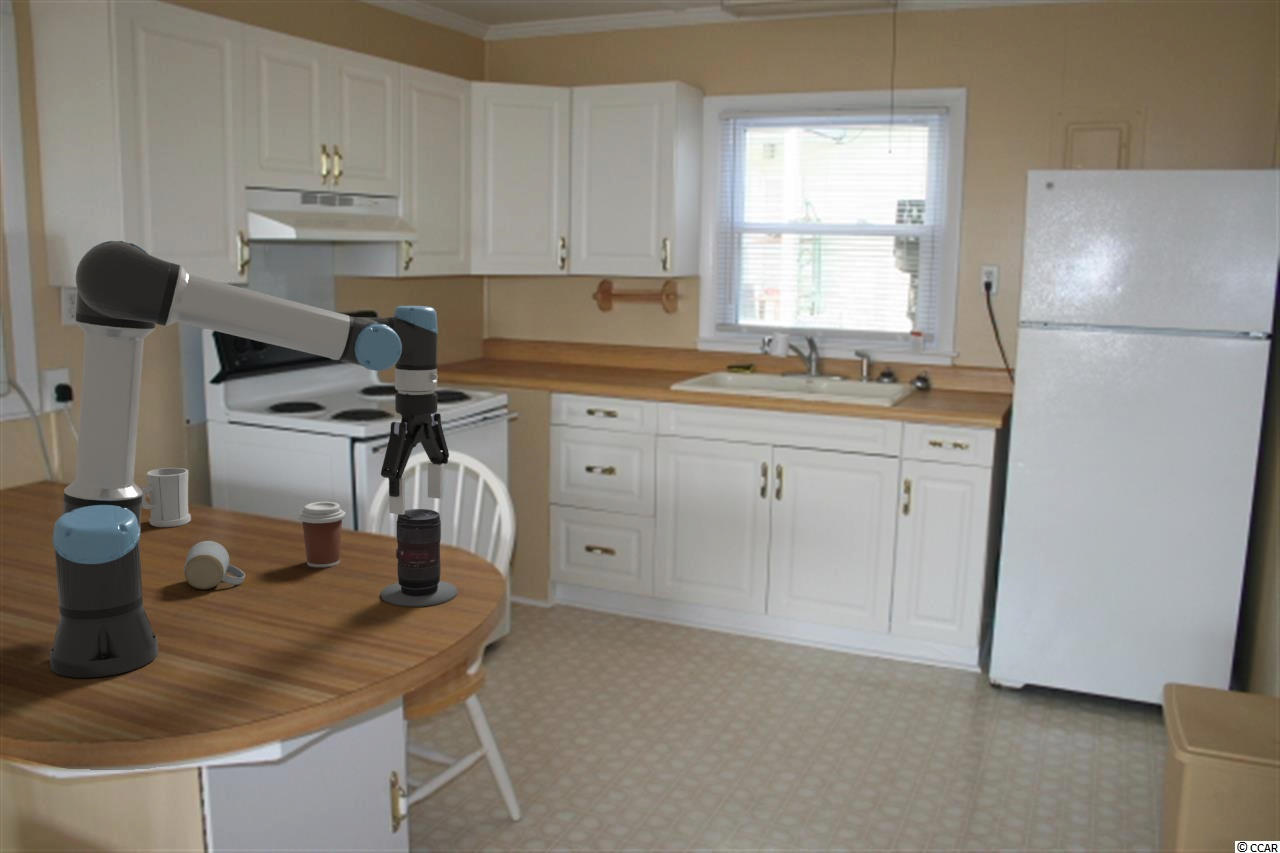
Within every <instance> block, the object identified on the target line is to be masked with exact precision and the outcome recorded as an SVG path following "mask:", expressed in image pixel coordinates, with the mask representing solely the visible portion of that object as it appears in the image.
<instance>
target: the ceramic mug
mask: <svg viewBox="0 0 1280 853" xmlns="http://www.w3.org/2000/svg"><path fill="white" fill-rule="evenodd" d="M183 573H184V577H185V580H186V582H187V583H188V584H189V585H190V586H191V587H193V588H194V589H198V590H209V589H213V588H215V587H217V586H218V585H219V584H220V583H221V582H223V583H226V584H228V585H229V584H230V585H234V586H236V585H237V586H238V585H242V583H244V581H245V578H246V574H245V572H244V571H243V570H241V569H240V568H239V567H236V565H235V566H234V565H233V564H230V556H229V552H228V551H227V549H226V548H225V546H223V545H222V544H220V543H218V542H216V541H212V540H204V541H203V540H202V541H200V542H197V543H195V544H194V545H193V546H192V547H191V548H190V549H189V551H188V553H187V555H186V559H185V563H184V566H183ZM226 573H229V574H226ZM230 574H231V575H230Z"/></svg>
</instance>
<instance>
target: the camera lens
mask: <svg viewBox="0 0 1280 853" xmlns="http://www.w3.org/2000/svg"><path fill="white" fill-rule="evenodd" d="M440 516H441V515H440V513H439V512H438V511H435V510H432V509H427V508H426V509H425V508H413V509H405V514H403V515H401V514H397V520H396V543H397V548H396V553H395V555H396V556H395V558H396V559H397V578H398V583H399V585H400V586H401V591H402V593H403V594H405V595H408V596H426V595H430V594H433V593H435V592H436V591H437V590H438V583H439V582H440V581H441V567H442V566H441V565H442V564H441V539H442V523H441V521H442V520H441V517H440Z"/></svg>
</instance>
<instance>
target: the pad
mask: <svg viewBox="0 0 1280 853" xmlns="http://www.w3.org/2000/svg"><path fill="white" fill-rule="evenodd" d="M457 595H458V588H457V587H456V585H454V584H452V583H450V582H448V581H443V580H440V582H439V583H438V590H437V591H436V592H435V593H433V594H430V595H426V596H408V595H405V594H403V593H402V591H401V586H400V585H399V582H395V583H392V584H389V585H387V586H386V587H384V588H383V589H382V590H381V592H380V598H381V600H382V601H383V602H385V603H388V604H389V605H393V606H398V607H407V608H408V607H409V608H410V607H411V608H412V607H413V608H416V607H417V608H419V607H430V606H431V607H432V606H436V605H440V604H444V603H447V602H450V601H451V600H453V599H455V598H456V597H457Z"/></svg>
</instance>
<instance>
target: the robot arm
mask: <svg viewBox="0 0 1280 853" xmlns="http://www.w3.org/2000/svg"><path fill="white" fill-rule="evenodd" d="M75 286H76V289H77V291H76V292H77V293H76V303H75V304H76V306H75V324H76V325H77V326H78V327H79V328H80V329H81V330H82V332H83V334H84V347H83V360H82V361H83V362H82V374H81V376H82V378H81V392H80V404H79V405H80V406H79V407H80V408H79V422H78V423H79V424H78V434H77V437H78V438H77V449H76V450H77V452H76V464H75V465H76V466H75V468H76V469H75V479H74V480H73V481H72V482H70V484H69V485H67V486H66V487H64V489H63V502H62V503H63V504H62V505H63V506H62V515H61V516H59V518H57V520H55V523H54V527H53V535H52V544H53V547H54V554H55V566H56V568H55V569H56V579H57V580H56V581H57V591H58V592H57V593H58V594H57V595H58V596H57V597H58V608H59V610H58V611H59V619H58V620H59V621H58V623H57V627H56V632H55V637H54V642H53V645H52V646H51V648H50V652H49V660H50V661H49V663H50V669H51V671H52V672H53V673H55V674H56V675H60V676H63V677H66V678H67V677H68V678H76V679H81V678H82V679H83V678H84V679H86V678H87V679H88V678H89V679H90V678H100V677H109V676H110V677H111V676H114V675H118V674H124V673H126V672H127V673H128V672H130V671H133V670H136V669H139V668H142V667H144V666H146V665H148V664H149V663H151V662H152V661H154V660H155V659H156V658H157V657H158V655H159V646H158V637H157V636H156V633H155V632H153V629H152V625H151V622H150V620H149V618H148V615H147V613H146V611H145V608H144V601H143V600H144V599H143V585H142V584H143V582H142V580H143V579H142V567H141V565H142V564H141V546H140V545H141V542H140V541H141V540H140V537H141V531H142V530H141V528H142V527H141V521H142V508H143V507H142V494H143V492H142V490H141V489H140V488H141V487H139V486H138V485H137V483H135V482H134V480H135V477H134V476H135V466H136V465H135V464H136V454H137V452H136V450H137V439H138V437H137V436H138V427H139V426H138V424H139V412H140V410H139V409H140V399H141V397H140V396H141V385H142V374H143V373H142V370H143V359H144V358H143V357H144V345H145V344H144V343H145V339H146V337H148V336H149V335H150V334H152V333H153V332H155V330H156V325H160V326H165V327H168V326H171V325H173V324H175V323H180V324H185V325H188V326H193V327H197V328H201V329H205V330H206V329H207V330H211V331H215V332H219V333H223V334H226V335H227V334H228V335H231V336H235V337H236V336H237V337H239V338H243V339H248V340H253V341H257V342H260V343H265V344H268V345H269V344H270V345H273V346H278V347H282V348H287V349H290V350H295V351H299V352H304V353H308V354H310V355H311V354H312V355H316V356H320V357H324V358H329V359H330V360H333V361H341V362H344V363H348V364H352V365H357V366H361V367H364V369H367V370H371V371H375V372H377V371H378V372H380V371H386V370H388V369H391V368H392V367H394V389H395V390H397V392H396V393H395V397H394V398H395V399H394V400H395V402H394V403H395V406H394V408H395V410H394V411H395V412H396V413H397V414H399V415H400V416H401V420H400V421H399V422H397V421H392V422H391V423H390V429H389V430H390V431H389V432H390V433H389V438H388V443H387V447H386V451H385V454H384V459H383V463H382V467H381V470H380V476H381V477H383V478H386V479H388V496H389V498H388V504H389V506H388V510H389V514H393V515H398V514H401V515H403V514H405V510H406V509H405V508H406V507H405V506H406V503H405V502H406V499H405V497H406V496H405V495H406V494H405V491H406V490H405V489H406V488H405V487H406V486H405V484H406V482H405V477H403V474H404V472H405V470H406V467H407V464H408V461H409V460H410V456H411V454H412V452H413V449H414V448H416V447H417V446H418V444H421V446H422V448H423V449H424V452H425V454H426V455H427V458H428V459H429V461H430V463H427V498H429V499H430V498H432V499H439V500H441V499H442V498H443V465H448V463H449V457H450V453H449V449H448V446H447V441H446V437H445V433H444V430H443V426H442V417H441V413H439V412H437V411H438V393H436V392H435V391H436V390H437V389H438V379H439V376H438V375H439V374H438V335H439V331H438V328H439V327H438V317H437V310H435V308H433V307H431V306H426V305H425V306H423V305H398V306H397V307H396V308H395V309H394V314H393V316H387V317H370V316H369V317H365V316H364V317H362V316H361V317H360V316H359V317H357V316H350V315H347V314H344V313H339V312H336V311H332V310H328V309H325V308H320V307H317V306H313V305H309V304H305V303H301V302H299V301H298V302H297V301H294V300H290V299H285V298H282V297H278V296H274V295H270V294H266V293H263V292H258V291H255V290H251V289H247V288H242V287H239V286H236V285H231V284H229V283H223V282H222V281H221V282H220V281H218V280H217V281H216V280H213V279H209V278H205V277H202V276H197V275H194V274H189V273H188V272H187V271H186V270H185V268H184V267H183V265H181V264H176V263H174V262H169V261H166V260H163V259H160V258H158V257H155V256H153V255H151V254H149V252H147V251H146V250H145V249H143V248H141V247H140V246H138V245H137V244H134V243H132V242H127V241H123V240H108V241H104V242H101V243H98V244H96V245H95V246H93V247H91V248H89V250H88V251H86V253H84V255H83V256H82V258H81V259H80V261H79V262H78V265H77V267H76V273H75Z"/></svg>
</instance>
